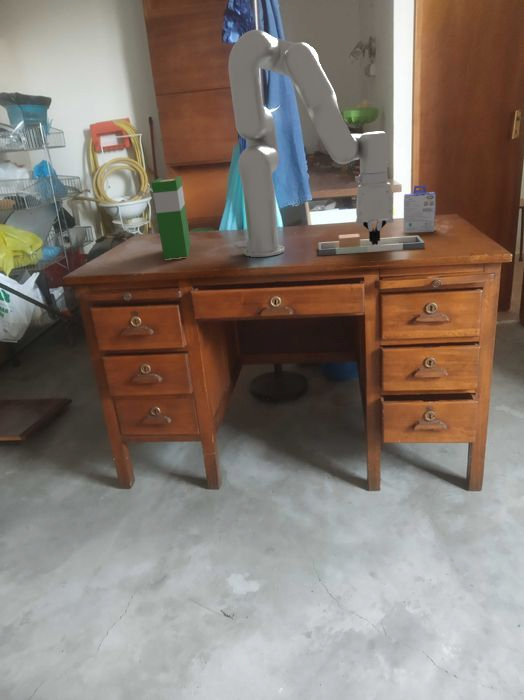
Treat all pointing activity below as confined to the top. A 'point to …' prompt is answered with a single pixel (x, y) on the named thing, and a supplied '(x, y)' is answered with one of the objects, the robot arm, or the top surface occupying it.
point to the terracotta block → (349, 240)
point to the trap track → (367, 246)
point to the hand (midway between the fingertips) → (374, 243)
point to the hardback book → (171, 217)
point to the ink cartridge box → (419, 211)
